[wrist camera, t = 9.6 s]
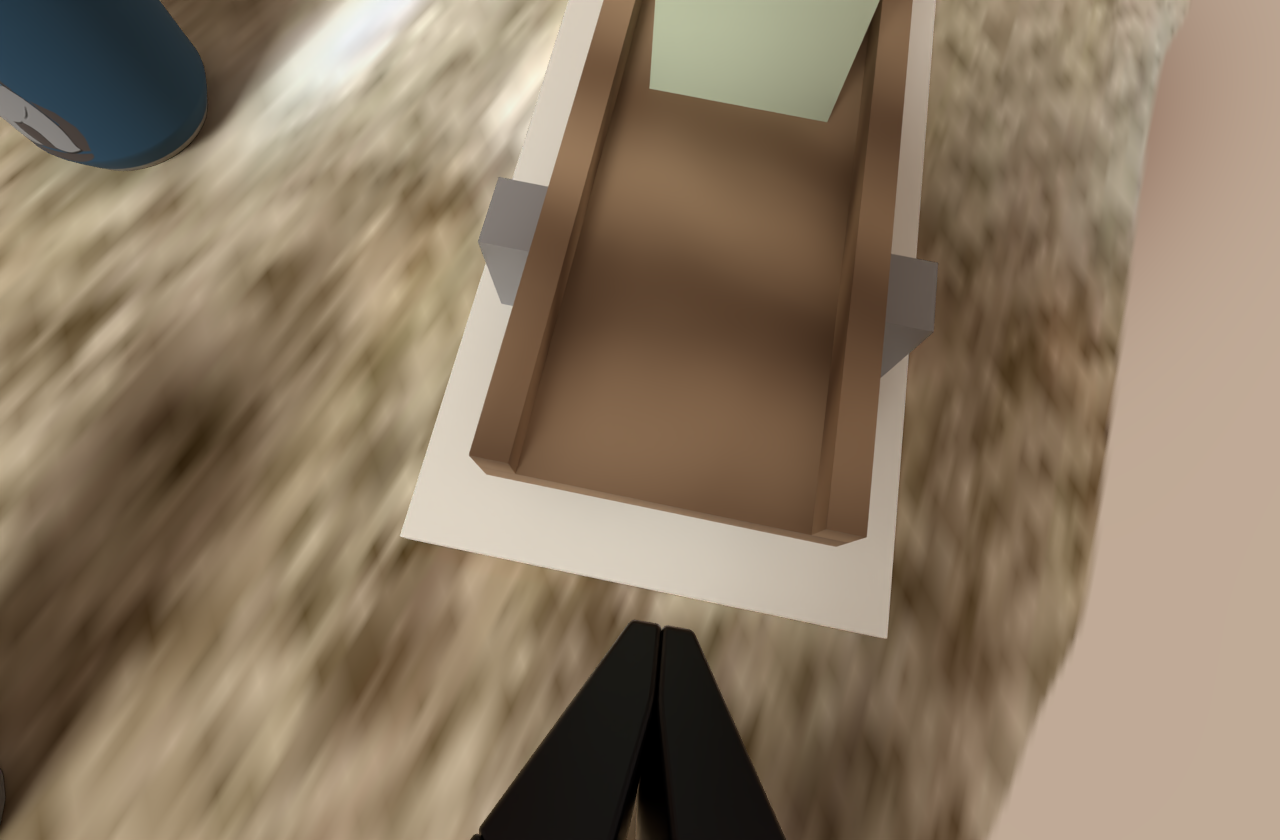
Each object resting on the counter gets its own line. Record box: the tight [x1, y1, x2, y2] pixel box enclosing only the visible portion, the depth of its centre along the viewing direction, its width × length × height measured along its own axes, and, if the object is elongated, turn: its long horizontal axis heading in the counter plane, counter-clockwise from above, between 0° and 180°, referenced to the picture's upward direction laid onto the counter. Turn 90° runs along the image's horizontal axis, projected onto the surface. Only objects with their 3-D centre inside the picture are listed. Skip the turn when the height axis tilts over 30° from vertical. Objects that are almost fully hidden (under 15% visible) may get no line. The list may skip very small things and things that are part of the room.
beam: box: [469, 0, 913, 547], centre depth 19 cm, size 24×10×5 cm, turn 169°
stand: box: [400, 0, 938, 638], centre depth 22 cm, size 28×16×5 cm, turn 169°
